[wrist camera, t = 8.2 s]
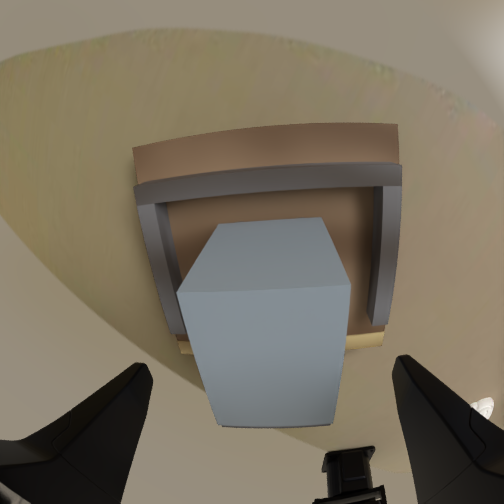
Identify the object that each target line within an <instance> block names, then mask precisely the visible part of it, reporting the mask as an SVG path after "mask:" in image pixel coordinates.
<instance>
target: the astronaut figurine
mask: <svg viewBox="0 0 504 504" xmlns="http://www.w3.org/2000/svg"><path fill="white" fill-rule="evenodd" d="M470 406H471V407H473V408H474V409H475V410H476V411H478V412H479V413H480V414H481V415H483V416H484V417H485V418H486V419H488V418H489V417H490V415H491V413H492V411H493V408H494V402H493V399H492V398H490V397H488V398H484V399H481V400H479V401H478V402H474V403H472V404H470Z"/></svg>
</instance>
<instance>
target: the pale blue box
mask: <svg viewBox="0 0 504 504" xmlns="http://www.w3.org/2000/svg"><path fill="white" fill-rule="evenodd" d="M350 292H351V283H350V281H349V278H348V276H347V274H346V271H345V269H344V267H343V264H342V262H341V260H340V257H339V255H338V253H337V251H336V248H335V246H334V244H333V242H332V239H331V237H330V235H329V233H328V231H327V228H326V226H325V224H324V222H323V220H322V218H321V217H314V218H304V217H299V218H295V219H280V220H265V221H251V222H243V221H239V222H235V223H224V224H218V226H217V228H216V229H215V231H214V232H213V234H212V235H211V237H210V239H209V240H208V242H207V243H206V245H205V247H204V248H203V250H202V251H201V253H200V255H199V256H198V258H197V259H196V261H195V263H194V264H193V266H192V268H191V269H190V271H189V272H188V274H187V276H186V277H185V279H184V281H183V282H182V284H181V286H180V287H179V289H178V291H177V292H176V293H177V297H178V301H179V305H180V308H181V312H182V316H183V319H184V323H185V326H186V330H187V333H188V337H189V340H190V344H191V347H192V350H193V353H194V357H195V360H196V363H197V366H198V369H199V372H200V376H201V379H202V382H203V385H204V388H205V390H206V393H207V396H208V399H209V402H210V405H211V408H212V410H213V413H214V416H215V419H216V421H217V424H218V425H222V427H234V428H299V427H316V426H328V425H331V423H333V420H334V415H335V410H336V404H337V398H338V393H339V387H340V380H341V374H342V367H343V360H344V352H345V344H346V335H347V326H348V316H349V305H350Z"/></svg>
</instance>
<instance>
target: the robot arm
mask: <svg viewBox="0 0 504 504" xmlns="http://www.w3.org/2000/svg"><path fill="white" fill-rule="evenodd" d="M392 380H393V385H394V391H395V397H396V404H397V410H398V415H399V419H400V423H401V427H402V431H403V435H404V439H405V443H406V447H407V451H408V455H409V460H410V464H411V469H412V474H413V478H414V484H415V489H416V494H417V500H418V504H504V430H502V429H501V428H499V427H498V426H496V425H495V424H493V423H492V422H491V421H489V420H488V419H486V418H485V417H484V416H483V415H481V414H480V413H479V412H478V411H476V410H475V409H474V408H473V407H471V406H470V405H469V404H468V403H467V402H466V401H464V400H463V399H462V398H461V397H460V396H458V395H457V394H456V393H455V392H454V391H452V390H451V389H450V388H449V387H448V386H446V385H445V384H444V383H443V382H441V381H440V380H439V379H438V378H437V377H435V376H434V375H433V374H432V373H431V372H429V371H428V370H427V369H426V368H424V367H423V366H422V365H421V364H419V363H418V362H417V361H416V360H415V359H413V358H412V357H411V356H410V355H407V354H406V355H400V356H398V357H397V358H396V361H395V364H394V368H393V371H392ZM152 386H153V378H152V375H151V373H150V371H149V369H148V367H147V365H146V364H145V363H138V362H137V363H134V364H132V365H131V366H130V367H128V368H127V369H126V370H124V371H123V372H122V373H120V374H119V375H118V376H116V377H115V378H114V379H112V380H111V381H110V382H108V383H107V384H106V385H104V386H103V387H101V388H100V389H99V390H97V391H96V392H95V393H93V394H92V395H91V396H89V397H88V398H87V399H85V400H84V401H82V402H81V403H80V404H78V405H77V406H75V407H74V408H73V409H71V410H70V411H69V412H67V413H66V414H64V415H63V416H61V417H60V418H58V419H57V420H55V421H54V422H52V423H50V424H49V425H47V426H46V427H44V428H42V429H40V430H39V431H37V432H35V433H33V434H31V435H30V436H28V437H26V438H24V439H21V440H16V441H9V440H0V504H121V503H120V502H121V500H122V496H123V492H124V489H125V485H126V481H127V478H128V475H129V471H130V468H131V464H132V461H133V457H134V454H135V451H136V448H137V444H138V441H139V438H140V435H141V431H142V428H143V425H144V422H145V419H146V415H147V411H148V405H149V400H150V395H151V391H152ZM374 452H375V447H374V446H372V447H366V448H360V449H353V450H345V451H337V452H328V453H326V454H325V457H324V461H323V466H322V472H323V473H324V472H327V486H328V498H323V499H315V501H314V502H313V503H312V504H387V501H386V495H385V489H384V485H381V486H379V487H376V488H373V484H372V477H371V470H370V464H369V461H370V459H371V457H372V455H373V453H374ZM378 498H380V499H381V500H377V501H376V500H375V499H378Z"/></svg>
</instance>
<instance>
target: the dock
mask: <svg viewBox="0 0 504 504" xmlns="http://www.w3.org/2000/svg"><path fill="white" fill-rule="evenodd" d="M132 150H133V156H134V163H135V169H136V175H137V180H138V185H137V186H134V187H133V188H134V194H135V199H136V204H137V209H138V214H139V218H140V223H141V227H142V232H143V236H144V240H145V245H146V249H147V253H148V257H149V261H150V265H151V268H152V272H153V276H154V280H155V283H156V287H157V290H158V294H159V297H160V301H161V304H162V307H163V311H164V314H165V317H166V320H167V323H168V327H169V330H170V333H171V334H176V337H177V340H178V341H177V342H178V345H179V348H180V351H181V354H194V353H193V350H192V347H191V344H190V340H189V337H188V333H187V330H186V326H185V323H184V319H183V316H182V312H181V308H180V305H179V301H178V297H177V293H176V292H177V291H178V289H179V287H180V286H181V284H182V282H183V281H184V279H185V277H186V276H187V274H188V272H189V271H190V269H191V268H192V266H193V264H194V263H195V261H196V259H197V258H198V256H199V255H200V253H201V251H202V250H203V248H204V247H205V245H206V243H207V242H208V240H209V239H210V237H211V235H212V234H213V232H214V231H215V229H216V228H217V226H218V224H224V223H235V222H239V221H243V222H251V221H265V220H280V219H295V218H299V217H304V218H314V217H321V218H322V220H323V222H324V224H325V226H326V228H327V231H328V233H329V235H330V237H331V239H332V242H333V244H334V246H335V248H336V251H337V253H338V255H339V257H340V260H341V262H342V264H343V267H344V269H345V271H346V274H347V276H348V278H349V281H350V283H351V292H350V305H349V316H348V326H347V335H346V344H345V350H349V349H359V348H367V347H375V346H382V342H383V337H384V329H385V325H387V324H388V320H389V314H390V309H391V303H392V296H393V290H394V283H395V275H396V267H397V258H398V248H399V236H400V222H401V201H402V165H399V141H398V124H383V123H309V124H290V125H275V126H264V127H253V128H244V129H235V130H227V131H220V132H213V133H206V134H200V135H194V136H188V137H182V138H177V139H171V140H166V141H161V142H156V143H152V144H147V145H143V146H138V147H134V148H132Z"/></svg>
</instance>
